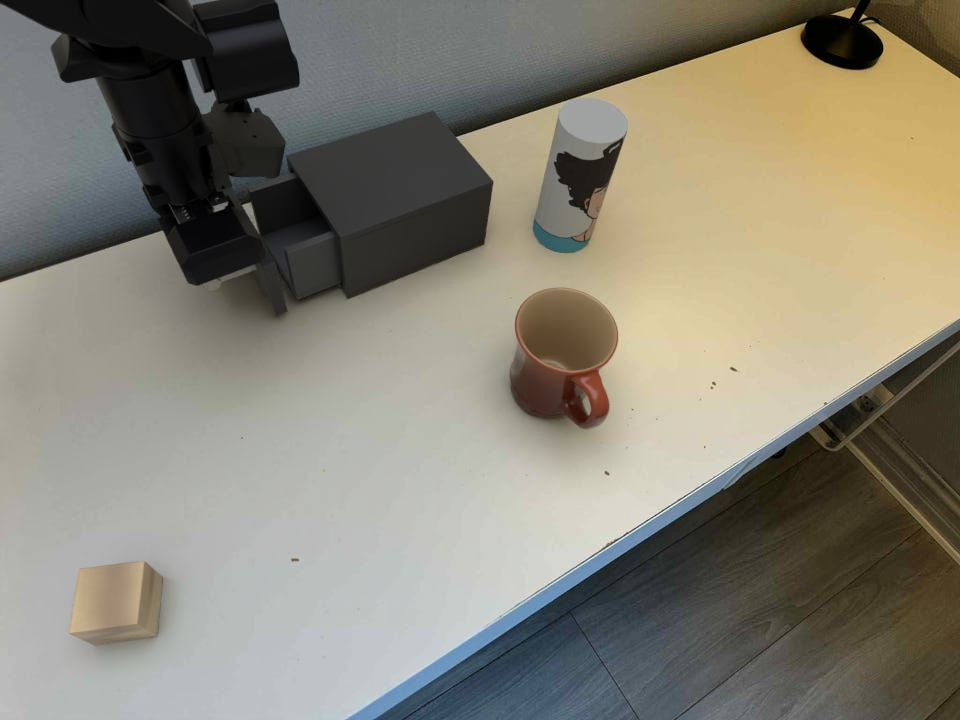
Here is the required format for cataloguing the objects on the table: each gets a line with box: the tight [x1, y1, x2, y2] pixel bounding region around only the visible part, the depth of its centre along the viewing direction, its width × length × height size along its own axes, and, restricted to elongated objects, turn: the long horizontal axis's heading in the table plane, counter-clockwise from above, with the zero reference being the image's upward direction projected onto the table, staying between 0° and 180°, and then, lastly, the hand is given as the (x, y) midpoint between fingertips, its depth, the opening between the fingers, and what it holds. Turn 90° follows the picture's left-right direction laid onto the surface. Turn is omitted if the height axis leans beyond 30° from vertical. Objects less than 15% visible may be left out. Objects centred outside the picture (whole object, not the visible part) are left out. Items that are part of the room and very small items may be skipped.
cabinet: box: [285, 110, 495, 300], centre depth 69 cm, size 17×12×9 cm
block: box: [68, 560, 164, 646], centre depth 48 cm, size 4×4×4 cm
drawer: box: [203, 173, 343, 317], centre depth 65 cm, size 20×11×7 cm, turn 122°
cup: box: [532, 96, 629, 254], centre depth 69 cm, size 7×7×15 cm
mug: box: [509, 287, 619, 430], centre depth 59 cm, size 12×9×10 cm
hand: (211, 255), depth 61 cm, fingers closed, pressing on drawer
